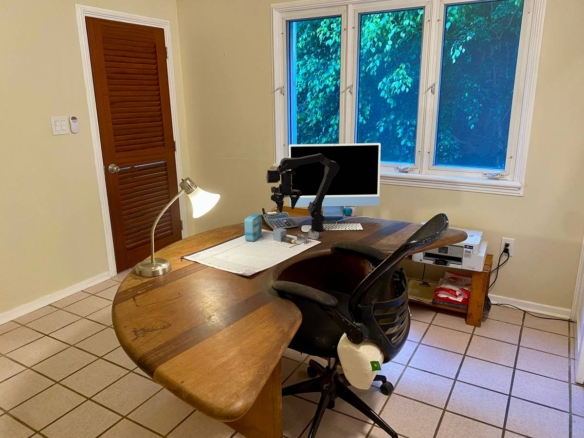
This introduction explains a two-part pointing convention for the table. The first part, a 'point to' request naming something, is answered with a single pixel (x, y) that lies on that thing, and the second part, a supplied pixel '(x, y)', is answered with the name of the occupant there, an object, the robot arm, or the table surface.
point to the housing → (311, 234)
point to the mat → (285, 243)
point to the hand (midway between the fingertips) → (286, 211)
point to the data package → (253, 227)
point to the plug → (282, 236)
